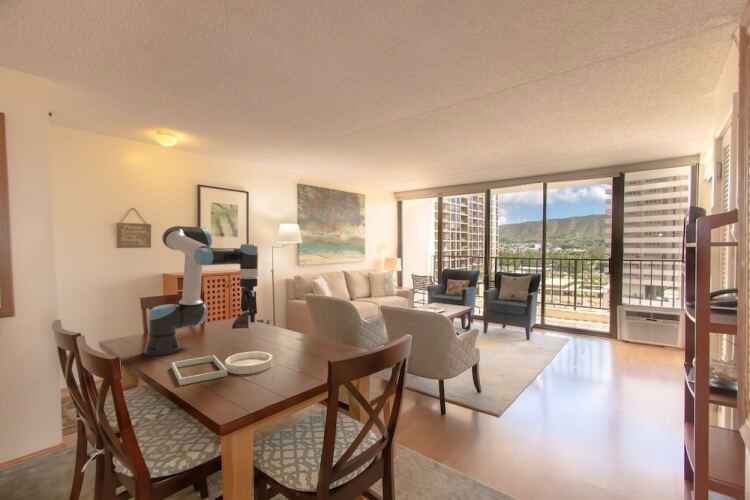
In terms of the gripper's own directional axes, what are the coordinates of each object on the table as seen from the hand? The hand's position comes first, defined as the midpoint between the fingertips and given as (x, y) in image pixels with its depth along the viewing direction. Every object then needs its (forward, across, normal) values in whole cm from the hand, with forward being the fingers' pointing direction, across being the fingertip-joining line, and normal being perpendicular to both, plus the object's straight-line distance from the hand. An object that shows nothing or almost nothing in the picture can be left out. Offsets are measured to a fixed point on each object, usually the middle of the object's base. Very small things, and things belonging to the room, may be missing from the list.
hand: (248, 327), depth 156 cm
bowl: (+18, 0, +1) cm, 18 cm away
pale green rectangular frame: (+18, -5, -19) cm, 27 cm away
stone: (+1, -1, -2) cm, 2 cm away
